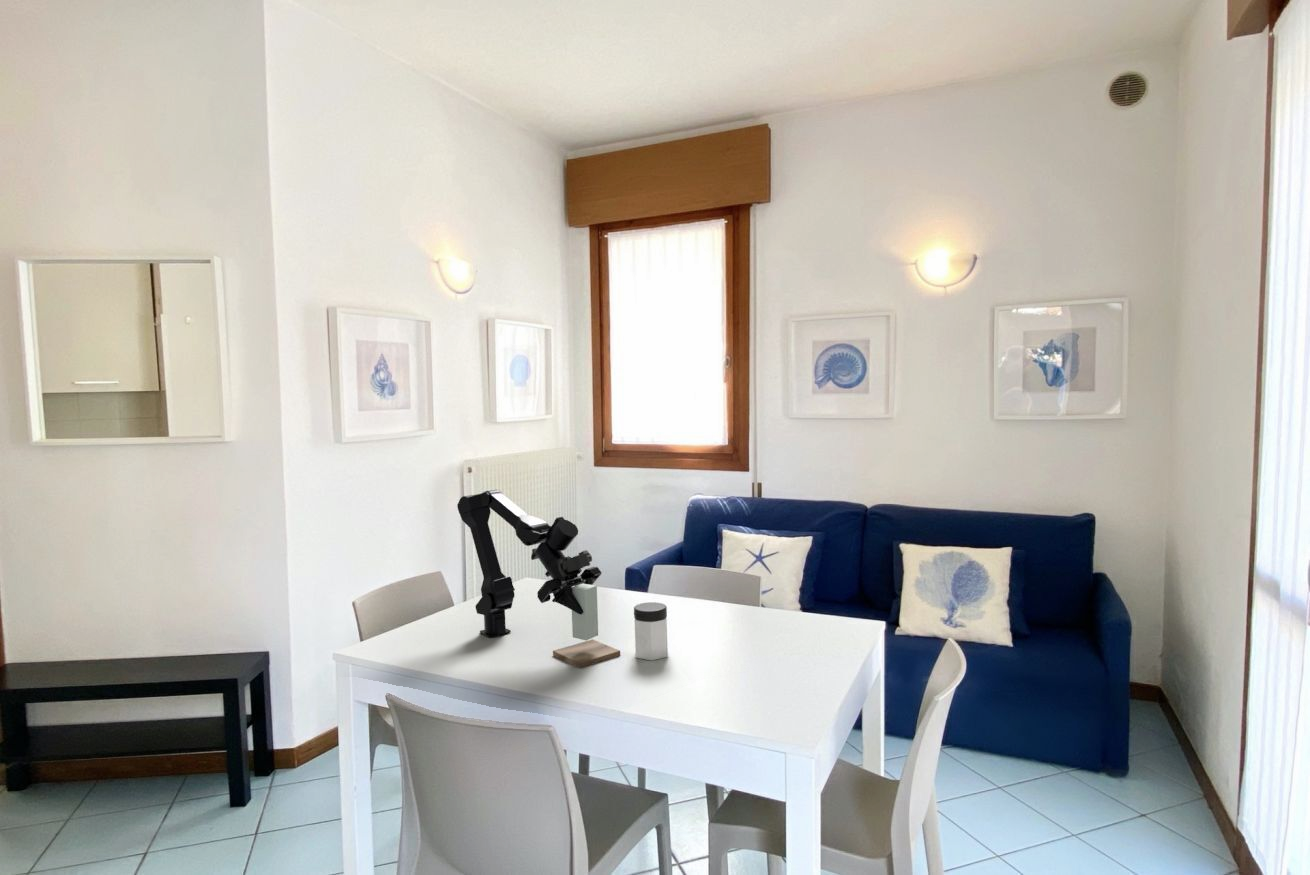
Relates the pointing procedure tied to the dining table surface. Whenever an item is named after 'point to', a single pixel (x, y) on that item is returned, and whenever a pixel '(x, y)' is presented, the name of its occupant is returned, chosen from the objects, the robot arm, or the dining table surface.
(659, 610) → the jar
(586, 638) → the pale green square post
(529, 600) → the dining table surface
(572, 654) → the plate
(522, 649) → the dining table surface
